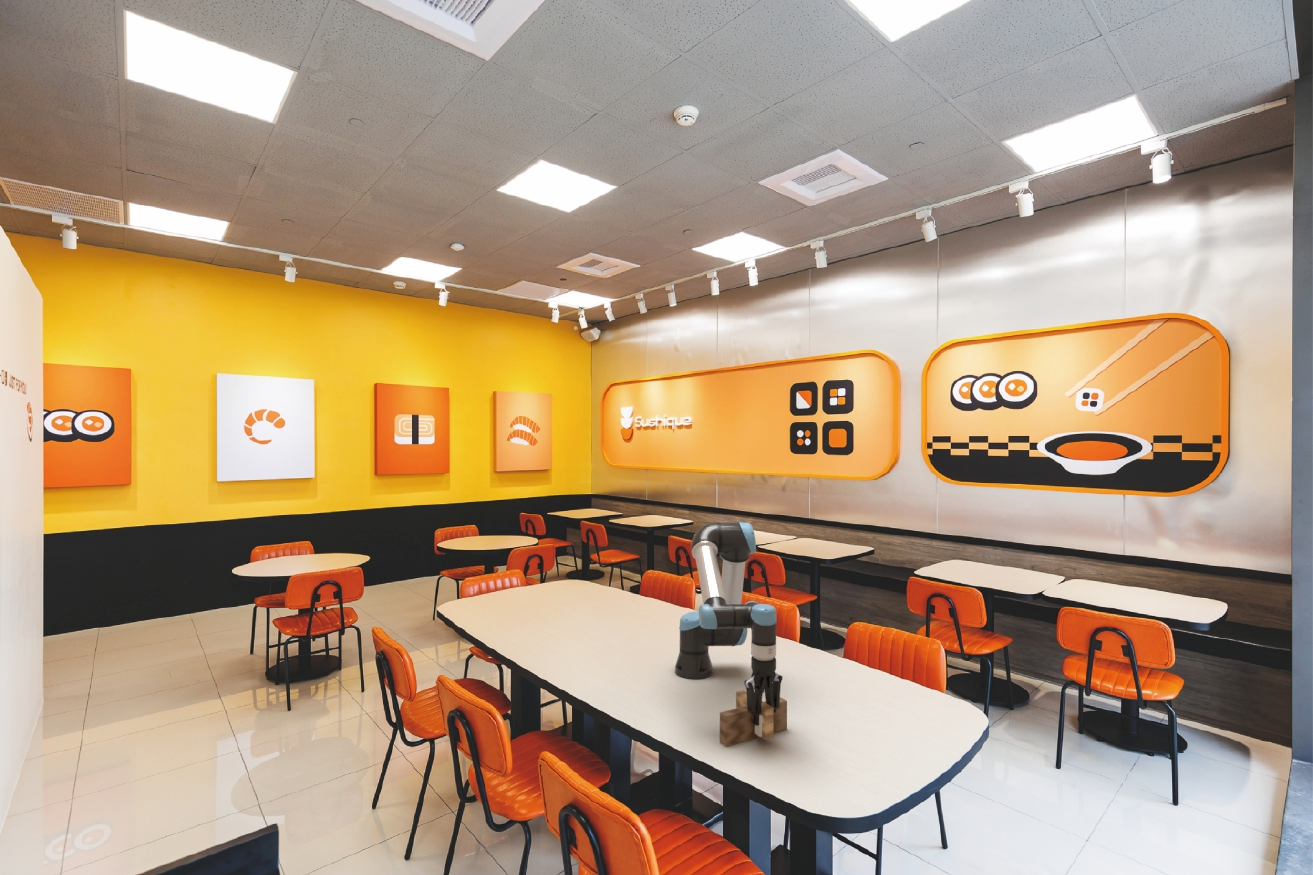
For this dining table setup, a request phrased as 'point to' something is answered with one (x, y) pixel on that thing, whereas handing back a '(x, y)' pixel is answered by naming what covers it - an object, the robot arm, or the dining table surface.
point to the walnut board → (747, 724)
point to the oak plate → (765, 712)
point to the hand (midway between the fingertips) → (763, 733)
